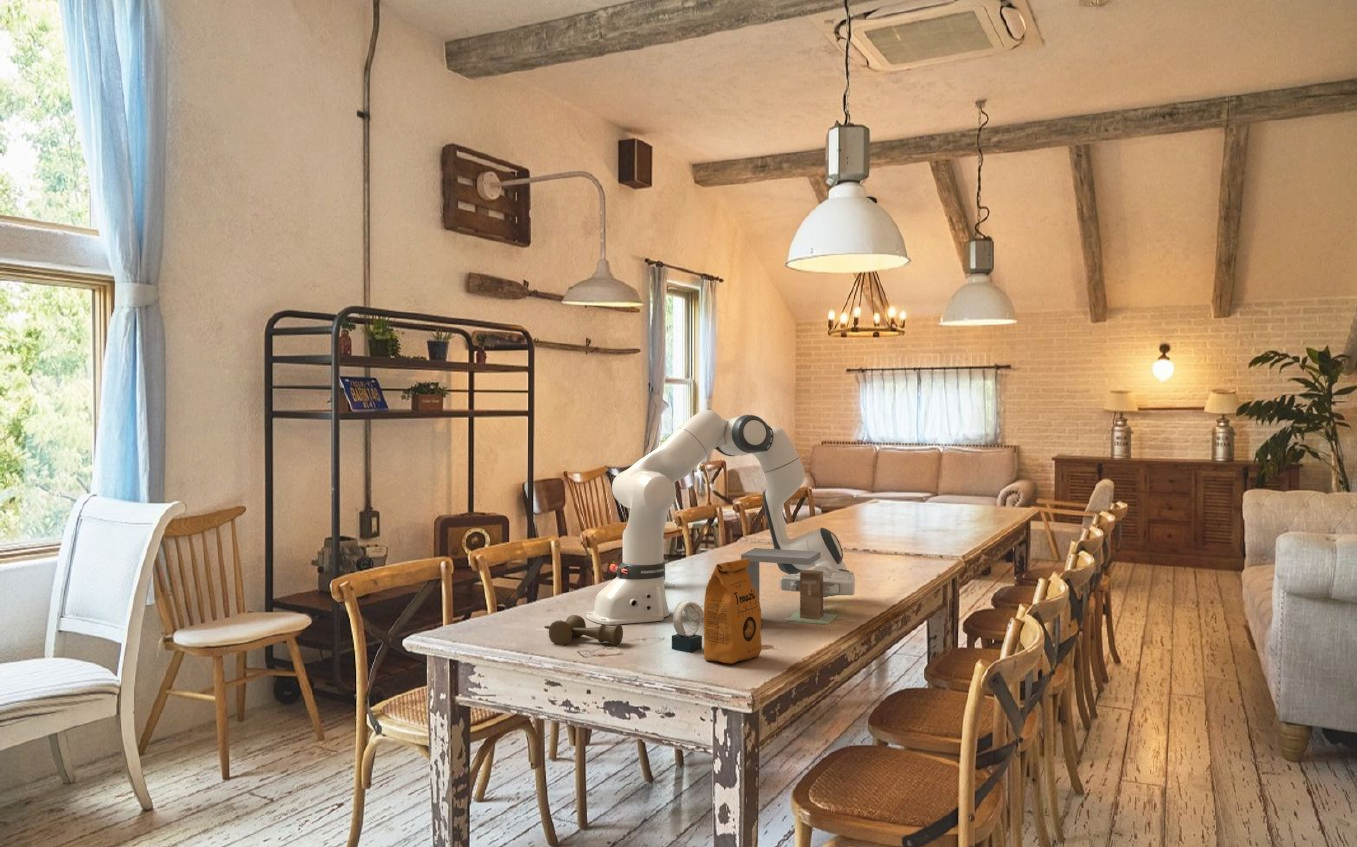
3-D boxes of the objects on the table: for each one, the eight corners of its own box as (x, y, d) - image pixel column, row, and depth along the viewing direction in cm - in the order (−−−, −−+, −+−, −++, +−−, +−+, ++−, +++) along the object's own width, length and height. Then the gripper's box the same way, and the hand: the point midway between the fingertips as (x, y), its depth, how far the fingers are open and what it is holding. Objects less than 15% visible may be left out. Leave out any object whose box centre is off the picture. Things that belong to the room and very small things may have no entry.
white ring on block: (707, 647, 220) (707, 600, 220) (685, 654, 214) (685, 605, 214) (688, 643, 224) (688, 597, 224) (666, 650, 218) (666, 602, 217)
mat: (796, 612, 258) (796, 611, 258) (836, 615, 253) (836, 614, 253) (786, 621, 247) (786, 619, 247) (827, 624, 243) (827, 623, 243)
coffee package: (768, 658, 211) (768, 559, 210) (730, 669, 202) (730, 566, 202) (735, 650, 218) (735, 554, 217) (697, 660, 209) (697, 561, 209)
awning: (755, 617, 251) (755, 548, 251) (820, 623, 244) (820, 551, 244) (741, 627, 240) (741, 554, 240) (809, 633, 233) (809, 558, 233)
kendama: (612, 652, 218) (534, 643, 225) (627, 644, 227) (552, 635, 234) (613, 626, 218) (535, 618, 225) (628, 619, 227) (553, 610, 234)
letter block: (804, 614, 254) (804, 569, 253) (823, 615, 252) (823, 570, 252) (799, 618, 249) (799, 572, 249) (818, 619, 247) (818, 573, 247)
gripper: (786, 567, 266) (773, 575, 253) (859, 571, 259) (849, 580, 246) (786, 589, 266) (773, 598, 253) (859, 594, 259) (849, 604, 246)
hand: (811, 589), depth 249 cm, fingers open, 8 cm apart
